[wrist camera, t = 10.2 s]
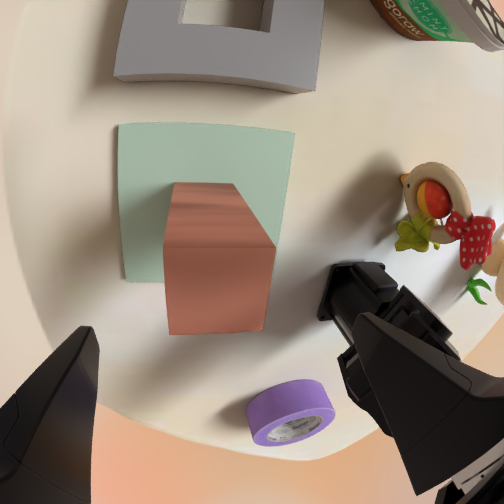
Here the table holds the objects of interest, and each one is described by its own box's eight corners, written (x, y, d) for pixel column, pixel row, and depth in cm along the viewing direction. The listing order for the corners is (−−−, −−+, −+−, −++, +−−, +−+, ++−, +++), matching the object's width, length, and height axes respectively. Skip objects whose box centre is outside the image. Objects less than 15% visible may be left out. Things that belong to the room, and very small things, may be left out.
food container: (335, 1, 13) (420, -38, 5) (350, -38, 11) (423, -76, 2) (435, 75, 17) (518, 84, 9) (443, 34, 15) (518, 34, 7)
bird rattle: (366, 183, 24) (395, 269, 25) (444, 162, 13) (473, 293, 14) (410, 165, 24) (435, 244, 25) (487, 144, 13) (512, 255, 14)
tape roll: (290, 422, 39) (299, 446, 35) (230, 418, 34) (237, 447, 30) (338, 382, 36) (351, 407, 31) (277, 373, 31) (289, 406, 26)
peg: (228, 236, 20) (262, 330, 12) (174, 236, 19) (169, 334, 11) (233, 183, 18) (276, 247, 10) (174, 182, 18) (162, 248, 9)
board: (269, 276, 24) (271, 280, 23) (127, 278, 21) (126, 281, 20) (292, 132, 18) (295, 133, 18) (120, 123, 15) (118, 124, 15)
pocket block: (297, 93, 17) (315, 90, 14) (124, 82, 14) (113, 75, 11) (310, -30, 12) (327, -44, 9) (155, -48, 9) (152, -67, 6)
